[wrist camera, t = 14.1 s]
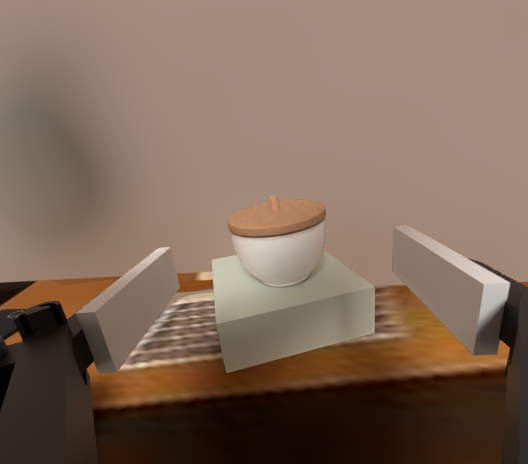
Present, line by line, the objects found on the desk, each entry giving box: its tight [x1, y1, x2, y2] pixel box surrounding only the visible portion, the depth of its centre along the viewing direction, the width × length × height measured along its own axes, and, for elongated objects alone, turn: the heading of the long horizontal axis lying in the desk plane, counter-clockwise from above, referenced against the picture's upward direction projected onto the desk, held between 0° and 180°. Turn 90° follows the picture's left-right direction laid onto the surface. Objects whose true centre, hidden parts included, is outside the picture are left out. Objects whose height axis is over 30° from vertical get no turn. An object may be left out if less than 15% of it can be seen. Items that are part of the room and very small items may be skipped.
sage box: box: [212, 250, 375, 373], centre depth 33 cm, size 16×16×6 cm
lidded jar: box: [228, 196, 326, 287], centre depth 29 cm, size 11×11×9 cm
